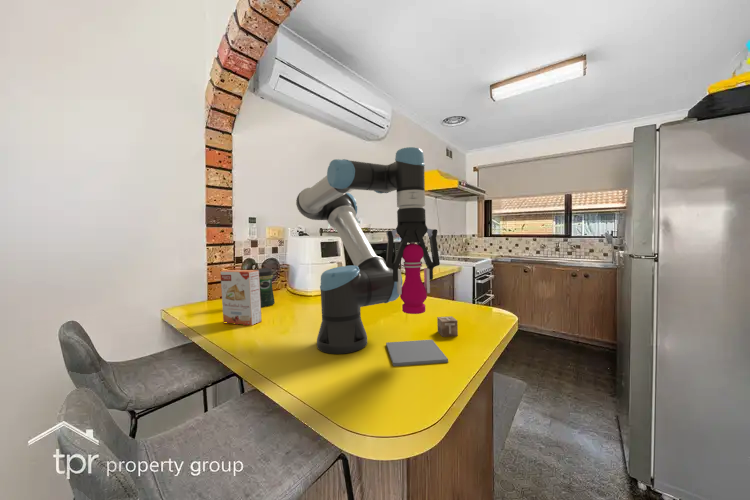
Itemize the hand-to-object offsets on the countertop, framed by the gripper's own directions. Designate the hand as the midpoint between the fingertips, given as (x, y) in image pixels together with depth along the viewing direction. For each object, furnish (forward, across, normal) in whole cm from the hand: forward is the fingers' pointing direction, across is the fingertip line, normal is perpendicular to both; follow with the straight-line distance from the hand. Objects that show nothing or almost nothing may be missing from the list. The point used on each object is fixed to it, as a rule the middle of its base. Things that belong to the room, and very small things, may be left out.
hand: (413, 292), depth 78 cm
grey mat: (+17, 0, 0) cm, 17 cm away
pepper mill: (+5, 0, 0) cm, 5 cm away
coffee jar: (+17, -60, +69) cm, 93 cm away
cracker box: (+17, -60, +40) cm, 74 cm away
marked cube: (+17, +14, +14) cm, 26 cm away
